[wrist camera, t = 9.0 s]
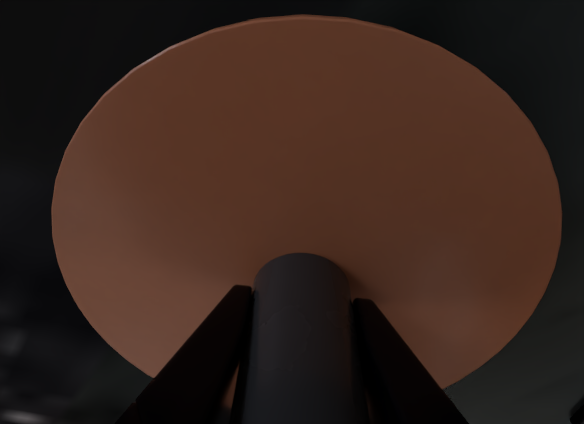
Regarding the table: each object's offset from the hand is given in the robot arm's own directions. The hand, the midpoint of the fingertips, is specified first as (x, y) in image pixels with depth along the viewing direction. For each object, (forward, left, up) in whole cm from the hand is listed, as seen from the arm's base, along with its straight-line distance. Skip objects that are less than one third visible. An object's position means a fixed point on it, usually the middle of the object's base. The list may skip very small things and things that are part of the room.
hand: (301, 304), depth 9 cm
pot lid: (0, 0, -1) cm, 1 cm away
